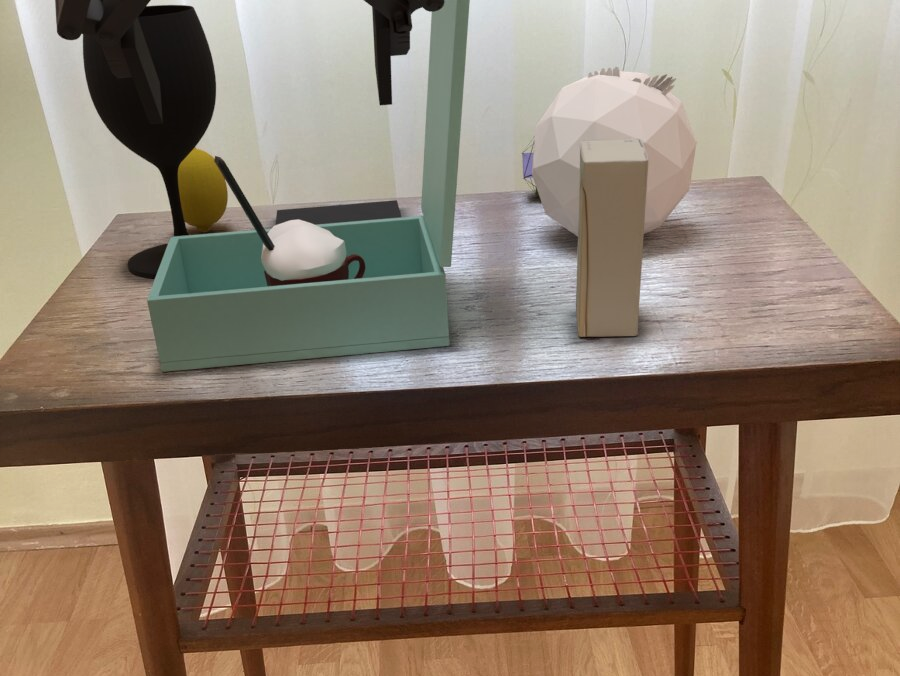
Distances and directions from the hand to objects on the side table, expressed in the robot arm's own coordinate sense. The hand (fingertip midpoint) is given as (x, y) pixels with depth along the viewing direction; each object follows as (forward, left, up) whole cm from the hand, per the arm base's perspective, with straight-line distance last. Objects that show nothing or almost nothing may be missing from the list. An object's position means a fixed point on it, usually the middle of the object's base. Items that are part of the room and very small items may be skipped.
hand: (269, 94), depth 66 cm
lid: (+11, +11, -2) cm, 16 cm away
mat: (+3, +36, -18) cm, 40 cm away
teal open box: (0, +11, -18) cm, 21 cm away
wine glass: (-11, +30, -18) cm, 36 cm away
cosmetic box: (+22, +5, -18) cm, 29 cm away
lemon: (-10, +39, -18) cm, 44 cm away
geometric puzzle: (+25, +41, -18) cm, 51 cm away
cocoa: (0, +11, -17) cm, 20 cm away
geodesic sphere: (+27, +26, -18) cm, 41 cm away
